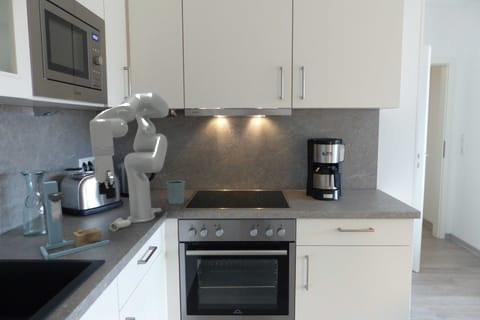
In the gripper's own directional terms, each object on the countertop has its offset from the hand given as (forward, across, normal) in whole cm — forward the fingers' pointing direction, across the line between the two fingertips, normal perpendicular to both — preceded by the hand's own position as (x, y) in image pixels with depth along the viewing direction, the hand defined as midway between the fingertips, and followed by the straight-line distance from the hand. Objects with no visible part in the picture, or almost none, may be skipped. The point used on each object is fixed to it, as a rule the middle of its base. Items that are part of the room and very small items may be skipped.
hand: (107, 196), depth 122 cm
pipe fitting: (+18, -11, +7) cm, 22 cm away
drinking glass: (+18, -37, +46) cm, 62 cm away
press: (+17, -3, -13) cm, 21 cm away
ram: (+6, 0, -17) cm, 18 cm away
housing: (+17, 0, -8) cm, 19 cm away
